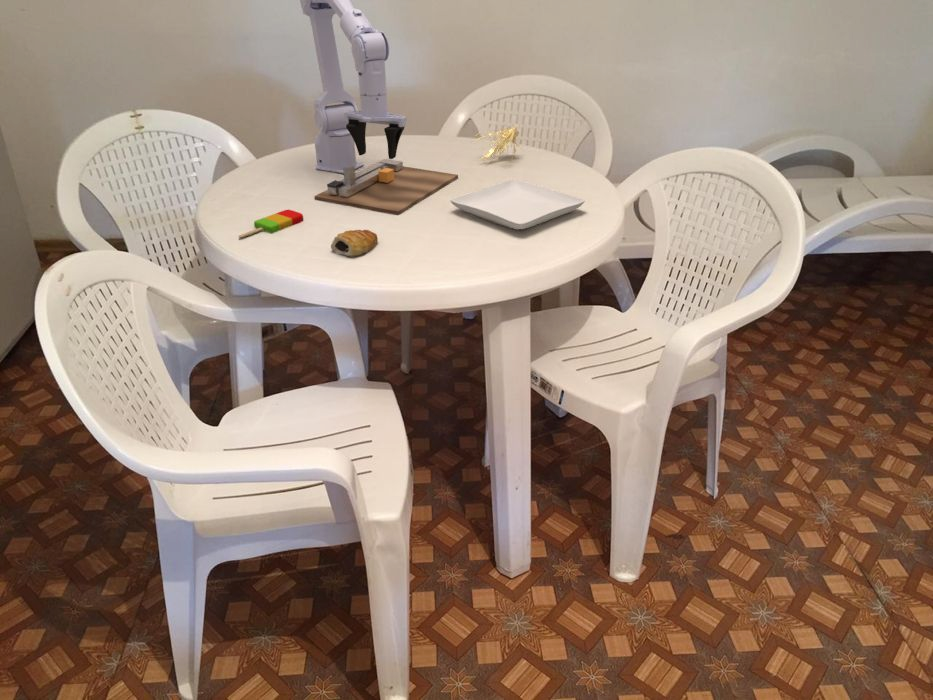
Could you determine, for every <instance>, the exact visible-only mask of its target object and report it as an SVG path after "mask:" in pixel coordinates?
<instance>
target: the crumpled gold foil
mask: <svg viewBox="0 0 933 700" xmlns="http://www.w3.org/2000/svg"><path fill="white" fill-rule="evenodd" d="M504 126H505V127H506V129H500V130H497V131H496V130H493V131H495V132H490V131H487V130H486V131H484V133H487V134H486V135H484V136H480V137H478V138H476V139H474V140H473V141H472V142H471V143H473V142H476V141H478V140H481V139H483V138H484V137H485V138H489V139H490V138H492V137H493V135H495V138H494V139H493V138H492V139H490V140H489V139H488V142H489V141H490V142H491V143H490V144H488V145H487V146H485V147H483V146H482V147H480V149H481V151H483V150H485V149H487V148H489V147H490V148H489V150H488V151H487V153H486V154H485V155H483V156H482V157H480V158H479V160H478V162H480V161H481V160H482V159H483V160H482V163H484V162H486V161H487V160H488V159H489V157H492V158H491V161H492V160H494V157H495V156H497V159H496V162H497V161H498V160H499V159H498V158H499V156H501V155H502V156H501V157H504V156H503V155H504V153H505V151H506V150H507V151H506V152H508V150H509V146H510V144H512V145H511V147H510V148H512V147H513V152H512V154H513V155H512V157H511V162H512V161H513V158H514V156H515V154H516V153H517V148H516V147H519V148H520V150H523V147H521V146H520V145H521V142H520V143H516V142H517V137H518V136H519V134H520V131H519V130H517V128H519V125H512V126H510V127H511V128H509V126H506V125H505V123H504ZM478 135H479V133H477V134H476V135H475V136H476V137H477V136H478ZM484 142H485V143H486V142H487V140H485V141H484ZM511 142H512V143H511ZM492 146H495V147H494V148H492ZM482 148H483V149H482ZM484 158H485V159H484Z"/></svg>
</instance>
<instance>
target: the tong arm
mask: <svg viewBox="0 0 933 700" xmlns="http://www.w3.org/2000/svg"><path fill="white" fill-rule="evenodd" d="M384 168H387V166H386V165H383V166H381V168H379V169H377V170H375V171H373V172H371V173H369V174H367V175H365V176H363V177H361V178H359V179H357V180H355V173H356V169H354V166H353V165H347V166H344V167H343V171H344V173H343V179H344V182H345V186H343V187H341V188H339V196H344V197H349V196H351V195H353V194H354V193H356V192H358V191H360V190H362V189H364V188H366V187H368V186H370V185H372V184H373V183H375V182H377V181H379V175H378V171H380V170H382V169H384ZM389 169H390V168H389Z"/></svg>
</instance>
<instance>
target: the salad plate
mask: <svg viewBox="0 0 933 700" xmlns="http://www.w3.org/2000/svg"><path fill="white" fill-rule="evenodd" d="M450 203H451V204H452V205H453V206H454V207H456V208H457V209H459V210H461V211H463V212H465V213H468V214H472V215H473V216H476V217H478V218H481V219H483V220H486V221H489V222H492V223H494V224H498V225H500V226H502V227H505V228H508V229H509V228H510V229H512V228H513V230H519V229H521V230H527V229H528V228H529V227H530V228H532V227H535V226H537V224H538V225H540V224H543V223H545V222H548V221H550V219H551V220H552V219H555V218H557V217H560V216H562V215H565V214H568V213H571V212H573V211H575V210H577V209H579V208H580V207H581V206H582V205H583V204H584V203H586V201H585V199H582V198H579V197H577V196H573V195H570V194H567V193H565V192H561V191H558V190H555V189H552V188H548V187H546V186H541V185H538V184H535V183H533V182H527V181H524V180H522V179H518V178H517V179H516V178H512V179H509V180H505V181H502V182H499V183H495V184H492V185H489V186H486V187H482V188H480V189H477V190H473V191H470V192H467V193H465V194H460V195H458V196H456V197H452V198H450ZM542 222H543V223H542ZM526 228H527V229H526Z"/></svg>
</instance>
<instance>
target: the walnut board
mask: <svg viewBox="0 0 933 700" xmlns="http://www.w3.org/2000/svg"><path fill="white" fill-rule="evenodd" d="M457 179H459V175H458V174H455V173H448V172H441V171H435V170H430V169H429V170H428V169H421V168H417V167H416V168H415V167H411V166H410V167H408V166H404V165H403V168H402V169H400V170H398V171H394V180H392V181H390V182H388V183H386V182H380V181H377V182H375V183H373V184H372V185H370V186H368V187H366V188H364V189H362V190H360V191H358V192H356V193H354V194H353V195H351V196H349V197H344V196H339V194H338V195H333V194H328V189H326V190H323V191H322V192H320V193H318V194H316V195H314V196H313V197H314V200H315V201H320V202H326V203H330V204H331V203H332V204H336V205H341V206H348V207H353V208H357V209H358V208H359V209H364V210H369V211H374V212H379V213H385V214H389V215H396V216H399V215H401V214H402V213H404V212H406V211H407V210H410V208H412V207H414V206H415V205H417V204H419V203H420V202H423V200H425V199H427V198H428V197H430V196H431V195H433V194H435V193H436V192H438V191H440V190H442V189H443V188H445V187H446V186H448V185H450V184H451V183H453V182H454V181H457Z"/></svg>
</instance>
